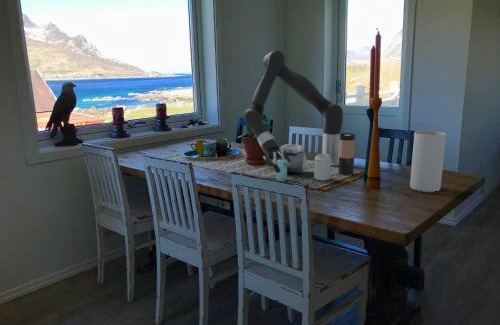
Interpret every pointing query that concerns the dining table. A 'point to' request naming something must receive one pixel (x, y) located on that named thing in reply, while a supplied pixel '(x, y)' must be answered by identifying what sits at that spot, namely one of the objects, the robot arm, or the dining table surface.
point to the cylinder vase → (427, 160)
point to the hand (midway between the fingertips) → (283, 171)
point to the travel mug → (346, 153)
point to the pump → (282, 169)
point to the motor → (295, 157)
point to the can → (322, 167)
